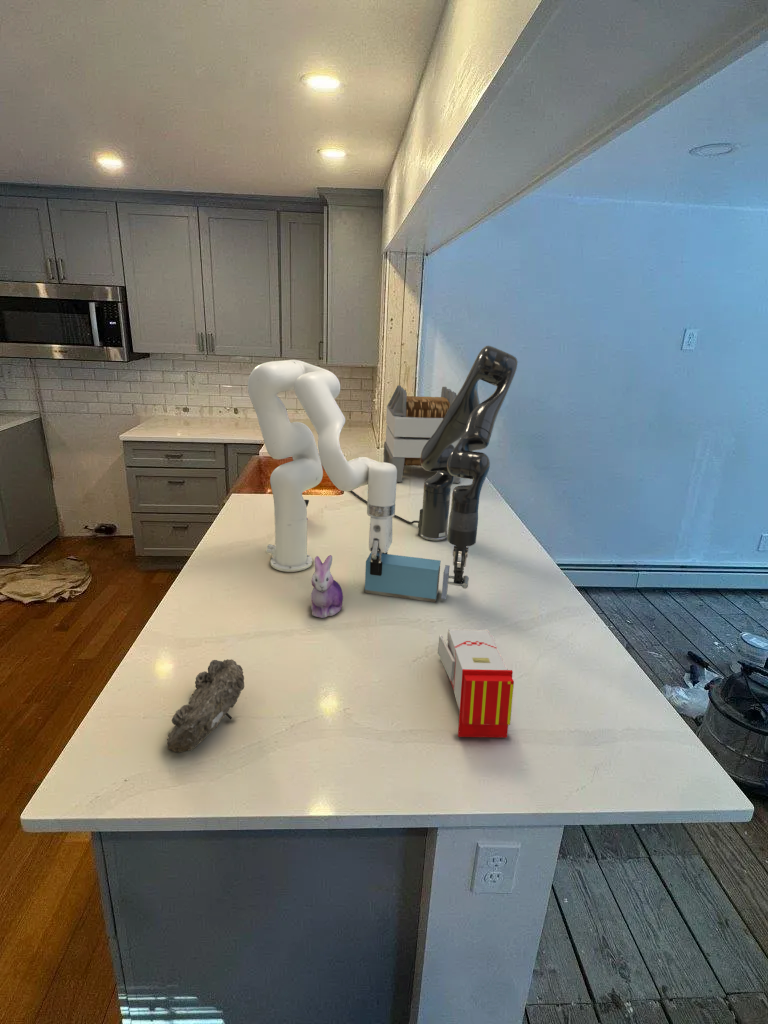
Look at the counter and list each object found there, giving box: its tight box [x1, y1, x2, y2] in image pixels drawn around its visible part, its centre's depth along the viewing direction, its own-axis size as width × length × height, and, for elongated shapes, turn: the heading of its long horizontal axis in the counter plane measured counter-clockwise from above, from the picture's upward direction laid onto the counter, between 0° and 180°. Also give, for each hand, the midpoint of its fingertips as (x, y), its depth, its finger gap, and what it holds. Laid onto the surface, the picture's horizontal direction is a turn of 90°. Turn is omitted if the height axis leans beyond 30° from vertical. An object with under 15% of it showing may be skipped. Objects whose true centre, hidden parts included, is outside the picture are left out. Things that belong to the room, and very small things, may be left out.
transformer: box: [383, 384, 461, 484], centre depth 268 cm, size 34×33×41 cm
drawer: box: [436, 564, 470, 600], centre depth 156 cm, size 24×5×8 cm, turn 79°
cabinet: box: [364, 552, 442, 603], centre depth 157 cm, size 20×6×10 cm, turn 79°
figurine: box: [310, 554, 344, 618], centre depth 145 cm, size 9×10×15 cm
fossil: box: [166, 658, 245, 754], centre depth 106 cm, size 22×10×15 cm
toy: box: [437, 628, 515, 738], centre depth 117 cm, size 12×13×30 cm
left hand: (378, 568), depth 158 cm, fingers closed on cabinet, 6 cm apart
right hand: (457, 584), depth 155 cm, fingers closed
